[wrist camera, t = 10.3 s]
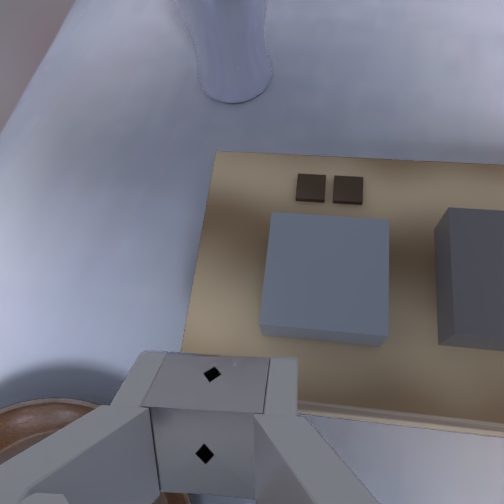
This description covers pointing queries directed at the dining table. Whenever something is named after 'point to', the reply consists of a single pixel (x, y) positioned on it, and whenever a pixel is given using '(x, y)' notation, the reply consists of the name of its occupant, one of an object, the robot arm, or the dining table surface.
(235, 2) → the beer glass
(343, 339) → the slate key
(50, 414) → the plant saucer
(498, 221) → the charcoal key
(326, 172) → the wooden key base
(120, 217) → the dining table surface
